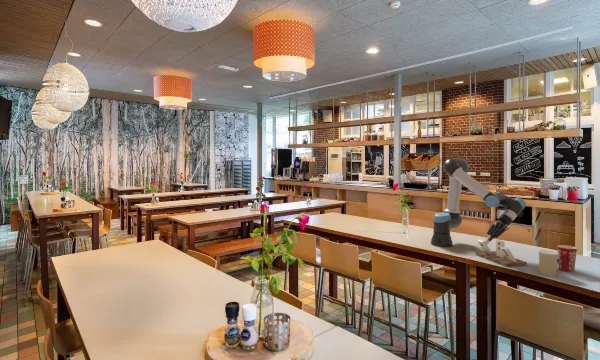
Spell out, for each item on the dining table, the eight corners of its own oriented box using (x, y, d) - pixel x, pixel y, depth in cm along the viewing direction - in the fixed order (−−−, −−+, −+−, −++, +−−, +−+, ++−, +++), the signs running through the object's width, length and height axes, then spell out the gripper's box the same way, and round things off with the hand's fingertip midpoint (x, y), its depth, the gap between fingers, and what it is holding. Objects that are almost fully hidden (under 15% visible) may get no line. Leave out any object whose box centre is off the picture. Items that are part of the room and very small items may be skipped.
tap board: (476, 255, 229) (476, 252, 229) (494, 253, 231) (494, 251, 231) (506, 266, 203) (506, 263, 203) (526, 265, 206) (526, 262, 206)
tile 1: (484, 251, 229) (476, 240, 227) (486, 250, 229) (478, 239, 228) (489, 253, 224) (481, 242, 223) (491, 252, 224) (483, 240, 223)
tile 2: (495, 255, 219) (495, 240, 219) (497, 255, 220) (498, 240, 219) (501, 257, 214) (501, 242, 214) (504, 257, 215) (504, 241, 214)
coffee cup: (562, 276, 186) (563, 255, 185) (542, 275, 187) (543, 254, 187) (553, 271, 195) (553, 250, 194) (534, 270, 197) (535, 249, 196)
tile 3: (507, 260, 210) (499, 248, 208) (510, 258, 210) (501, 246, 208) (514, 262, 205) (506, 250, 203) (516, 260, 205) (508, 248, 203)
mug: (558, 266, 203) (559, 244, 203) (577, 270, 196) (578, 247, 196) (552, 271, 195) (553, 247, 194) (572, 275, 188) (573, 250, 187)
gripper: (518, 223, 223) (495, 249, 220) (503, 219, 235) (481, 244, 233) (511, 215, 221) (488, 242, 219) (496, 212, 234) (474, 237, 232)
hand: (484, 243), depth 226 cm, fingers closed
